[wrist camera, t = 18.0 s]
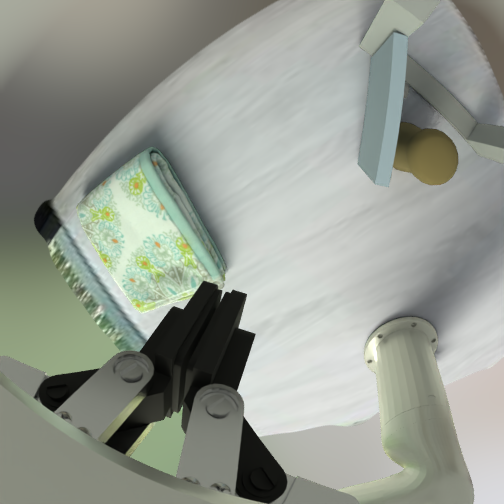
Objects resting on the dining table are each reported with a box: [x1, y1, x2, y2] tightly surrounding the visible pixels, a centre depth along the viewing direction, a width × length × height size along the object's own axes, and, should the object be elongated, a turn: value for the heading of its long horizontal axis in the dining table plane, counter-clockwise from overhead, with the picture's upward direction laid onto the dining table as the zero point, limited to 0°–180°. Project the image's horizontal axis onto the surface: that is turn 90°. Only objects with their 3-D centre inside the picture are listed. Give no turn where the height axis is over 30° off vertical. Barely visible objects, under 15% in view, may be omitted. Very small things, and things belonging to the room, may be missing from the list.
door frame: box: [359, 0, 504, 164], centre depth 19 cm, size 20×3×16 cm, turn 58°
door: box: [358, 32, 409, 187], centre depth 24 cm, size 13×3×11 cm, turn 175°
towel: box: [77, 147, 226, 313], centre depth 41 cm, size 18×21×5 cm
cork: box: [393, 122, 458, 185], centre depth 25 cm, size 6×6×11 cm
